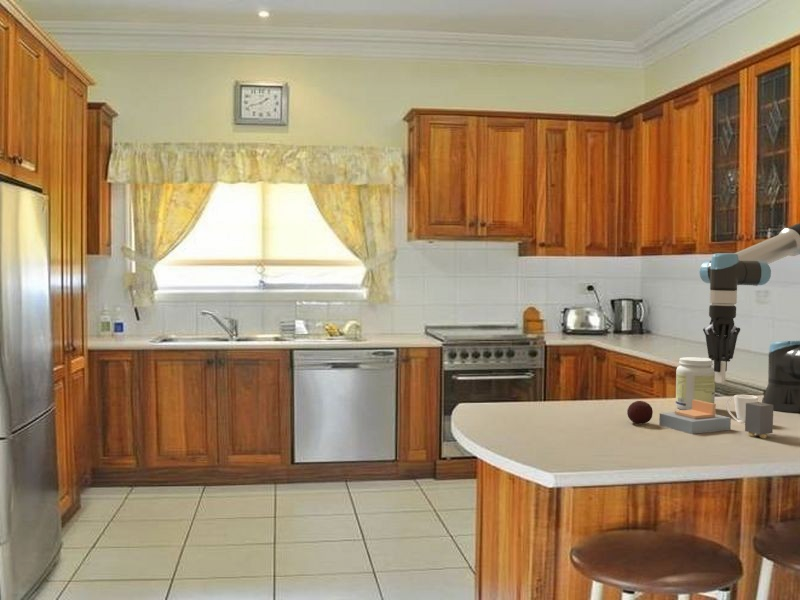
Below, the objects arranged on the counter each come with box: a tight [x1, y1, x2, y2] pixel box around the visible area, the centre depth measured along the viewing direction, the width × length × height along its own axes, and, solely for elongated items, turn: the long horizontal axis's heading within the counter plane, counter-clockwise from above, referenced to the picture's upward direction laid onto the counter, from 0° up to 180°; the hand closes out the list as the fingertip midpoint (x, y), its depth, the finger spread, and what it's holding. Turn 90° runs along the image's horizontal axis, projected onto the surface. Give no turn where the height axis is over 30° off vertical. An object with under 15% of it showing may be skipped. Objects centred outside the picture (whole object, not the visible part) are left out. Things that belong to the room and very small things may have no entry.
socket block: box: [659, 411, 732, 435], centre depth 228 cm, size 15×13×4 cm
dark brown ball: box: [626, 400, 654, 425], centre depth 232 cm, size 7×8×7 cm
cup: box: [726, 394, 759, 424], centre depth 237 cm, size 7×10×8 cm
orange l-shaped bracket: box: [674, 400, 717, 419], centre depth 228 cm, size 8×8×4 cm
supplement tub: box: [675, 356, 716, 411], centre depth 257 cm, size 12×12×17 cm
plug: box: [744, 401, 774, 439], centre depth 217 cm, size 5×5×9 cm
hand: (719, 382), depth 232 cm, fingers closed
